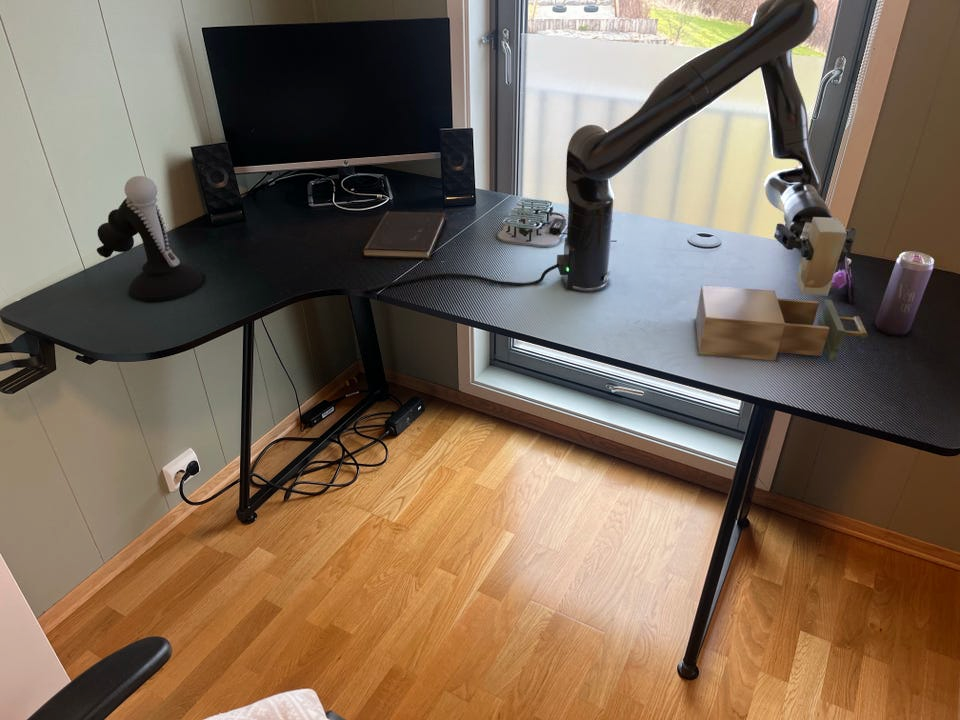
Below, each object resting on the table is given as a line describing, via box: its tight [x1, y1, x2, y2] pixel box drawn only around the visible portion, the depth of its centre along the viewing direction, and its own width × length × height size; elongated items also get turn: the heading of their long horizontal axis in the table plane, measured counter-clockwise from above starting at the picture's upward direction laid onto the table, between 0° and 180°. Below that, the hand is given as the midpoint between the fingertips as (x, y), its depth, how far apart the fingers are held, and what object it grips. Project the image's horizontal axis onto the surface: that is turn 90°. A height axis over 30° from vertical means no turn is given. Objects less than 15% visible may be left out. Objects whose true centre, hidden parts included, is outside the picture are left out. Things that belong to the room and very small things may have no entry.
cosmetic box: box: [795, 217, 847, 297], centre depth 121 cm, size 6×4×12 cm
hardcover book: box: [362, 210, 446, 260], centre depth 174 cm, size 16×23×2 cm
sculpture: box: [96, 175, 204, 303], centre depth 151 cm, size 15×24×25 cm, turn 71°
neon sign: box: [497, 198, 618, 248], centre depth 175 cm, size 21×4×29 cm
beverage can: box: [874, 250, 935, 336], centre depth 131 cm, size 6×6×15 cm
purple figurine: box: [829, 255, 852, 304], centre depth 146 cm, size 7×5×9 cm
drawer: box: [777, 297, 869, 361], centre depth 128 cm, size 17×11×6 cm, turn 79°
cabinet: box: [695, 284, 785, 362], centre depth 131 cm, size 13×12×8 cm
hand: (825, 256), depth 118 cm, fingers closed on cosmetic box, 4 cm apart
